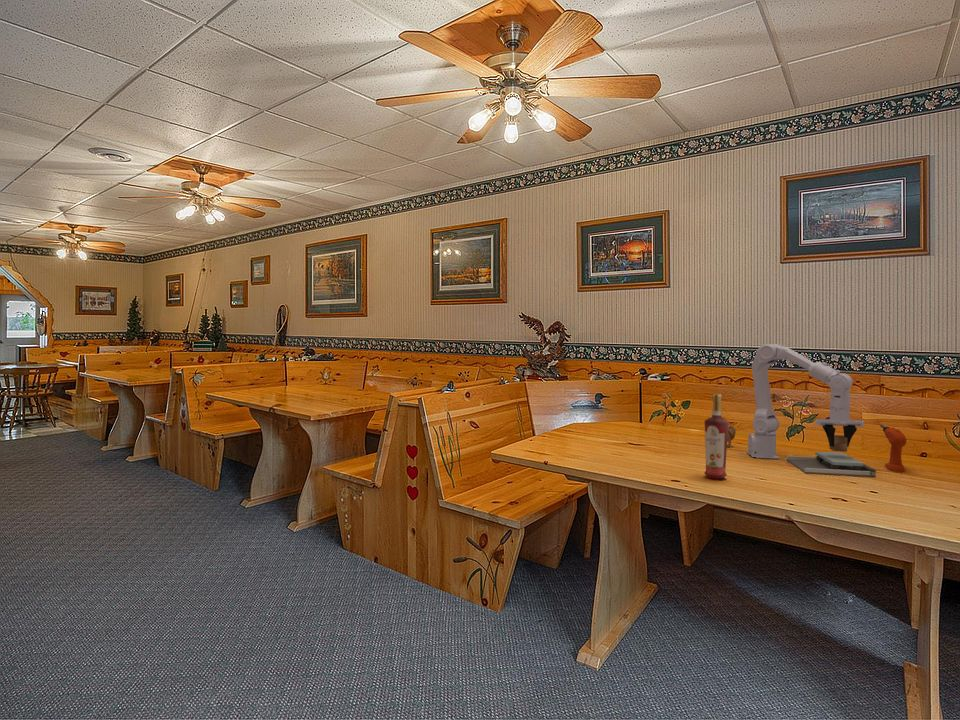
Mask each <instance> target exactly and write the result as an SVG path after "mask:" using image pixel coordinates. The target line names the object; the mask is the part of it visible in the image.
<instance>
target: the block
mask: <svg viewBox="0 0 960 720" xmlns="http://www.w3.org/2000/svg"><path fill="white" fill-rule="evenodd" d="M829 450H831V451H832V452H839V453H844V452H846V453H847V452H848V447H847V437H845V436H844V435H843V434H842V435H841V434H840V435H837V434H836V435H835V434H834V446H830V445H829Z"/></svg>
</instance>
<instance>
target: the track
mask: <svg viewBox="0 0 960 720" xmlns="http://www.w3.org/2000/svg"><path fill="white" fill-rule="evenodd" d="M816 457H817V456H816ZM816 457H815V456H801V455H800V456H797V455H796V456H795V455H787V456H786V462H788V463H790V464H791V465H792V464H793V466H794V467H795V468H797V469H798V470H799V469H800V471H801V472H803V474H807V475H810V474H811V475H825V476H840V475H841V476H842V475H843V477H859V478H862V477H863V478H876V477H877V475H876V473H877V470H876V469H874V468H872V467H871V466H869V465H867V464H865V463H863V466H861V467H862V470H861V471H854V470H853V466H847V465H839V466H840V469H839V470H834V469H831V465H832V464H831V463H829V462H828V461H826V460H824V461H823V462H819V461H817V459H816Z"/></svg>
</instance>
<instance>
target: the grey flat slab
mask: <svg viewBox="0 0 960 720" xmlns="http://www.w3.org/2000/svg"><path fill="white" fill-rule="evenodd" d="M814 454H815V455H816V459H817V461H819V462H823V461H824V460H826V461H828V462H829V463H831V464H832V465H831V469H834V470H839V469H840V466H839V465H847V466H853V470H854V471H861V470H862V467H861V466H863V464H864V463H863V462H862V461H860V460H858V459H856V458H854V457H852V456H849V454H846V453H844V452H835V451H832V452H830V451H829V452H827V451H815V452H814Z"/></svg>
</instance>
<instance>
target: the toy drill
mask: <svg viewBox="0 0 960 720" xmlns="http://www.w3.org/2000/svg"><path fill="white" fill-rule="evenodd" d="M879 426H880V427H881V428H882V432H883V433H884V435H885V437H886V439H887V441H888V443H890V445H891V446H890V452H889V453H890V454H889V461H888V462H887V463H885V464H884V468H885V467H886V468H887V469H886V468H885V469H886V470H888V469H889V470H888V471H890V470H891V472H894V471H896V472H897V473H905V472H904V471H906V468H905V466H904V465H903V462H902V460H903V459H902V451H903V448H904V447H905V446H906V444H907V436H906V435H905V434H904V433H903V432H902V431H901V430H900V429H897V428H895V427H890V426H885V425H884V424H880V425H879ZM896 472H895V473H896Z"/></svg>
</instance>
